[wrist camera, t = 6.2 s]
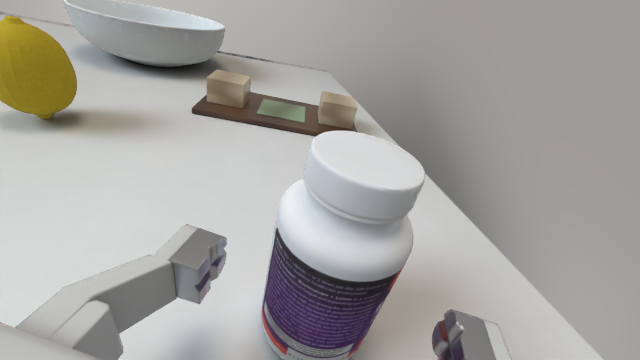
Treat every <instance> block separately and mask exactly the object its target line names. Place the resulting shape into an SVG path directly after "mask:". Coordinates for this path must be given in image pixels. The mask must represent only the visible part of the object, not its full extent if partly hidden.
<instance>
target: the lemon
mask: <svg viewBox="0 0 640 360" xmlns="http://www.w3.org/2000/svg"><path fill="white" fill-rule="evenodd" d="M76 91H77V80H76V75H75V71H74V68H73V66H72V64H71V62H70V60H69V58H68V56H67V54H66V52H65V51H64V49H63V48H62V47H61V45H60V44H59V43H58V42H57V41H56V40H55V39H54V38H53V37H51V36H50V35H49V34H47V33H46V32H44V31H42V30H40V29H39V28H37V27H34V26H32V25H29V24H27V23H24V22H23V21H22V20H21V19H20V18H18V17H13V16H6V17H5V18H4V19H3V21H0V101H2V102H3V103H5V104H7V105H8V106H10V107H12V108H14V109H16V110H19V111H22V112H25V113H31V114H34V115H36V116H38V117H40V118H42V119H49V118H51V117H52V116H53V115H54V114H55V112H58V111H61V110H63V109H65V108H66V107H68V106H69V105H70V104H71V102H72V101H73V99H74V97H75V95H76Z"/></svg>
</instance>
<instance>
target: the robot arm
mask: <svg viewBox="0 0 640 360" xmlns="http://www.w3.org/2000/svg"><path fill="white" fill-rule="evenodd" d="M226 245H227V238H226V237H223V236H220V235H218V234H215V233H212V232H209V231H206V230H203V229H200V228H197V227H194V226H191V225H188V224H187V225H184V226H183V227H181V228H180V229H179V230H178V231H177V232H176V233H175V234H174V235H173V236H172V237H171V238H170V239H169V240H168V241H167V242H166V243H165V244H164V245H163V246H162V248H161V249H160V250H159V251H158V252H157V253H156V254H155V255H154V256H153V255H147V256H144V257H142V258H139V259H136V260H134V261H131V262H128V263H126V264H123V265H121V266H118V267H115V268H113V269H110V270H107V271H105V272H102V273H100V274H97V275H94V276H92V277H89V278H87V279H84V280H81V281H79V282H76V283H73V284H71V285H68V286H66V287H64V288H62V289H61V290H60V291H59V292H58V293H56V294H55V295H54V296H53V297H52V298H50V299H49V300H48V301H47V302H46V303H44V304H43V305H42V306H41V307H39V308H38V309H37V310H36V311H35V312H33V313H32V314H31V315H30V316H29V317H27V318H26V319H25V320H24V321H22V322H21V323H20V324H19V325H18V326H16V327H12V326H9V325H6V324H4V323H1V322H0V360H118V359H119V357H120V356H121V355H122V353H123V345H122V342H121V339H120V336H119V333H121V332H123V331H124V330H126V329H128V328H129V327H131V326H132V325H134V324H136V323H137V322H139V321H141V320H142V319H144V318H145V317H147V316H149V315H150V314H152V313H154V312H155V311H157V310H158V309H160V308H162V307H163V306H165V305H167V304H168V303H170V302H172V301H173V300H175V299H176V297H178V298H181V299H185V300H188V301H191V302H194V303H197V304H200V303H201V301H202V300H203V298H204V297H205V295H206V294H207V292H208V291H209V289H210V281H212V280H214V279H216V278H217V277H218V276H219V274H220V273H221V271H222V269H223V266H224V264H225V260H226V252H225V250H224V248H225V246H226ZM444 317H445V320H443V321H440V322H438V323H437V325H436V326H435V327H434V331H433V335H432V345H433V350H434V352H435V353H436V355H437V357H438V360H511V357H510V354H509V351H508V349H507V346H506V343H505V340H504V338H503V335H502V332H501V330H500V327H499V326H498V325H497V324H496V323H493V322H490V321H487V320H484V319H480V318H478V317H475V316H472V315H468V314H465V313H462V312H459V311H455V310H452V309H450V310H448V311H447V312H446V313H445V314H444Z"/></svg>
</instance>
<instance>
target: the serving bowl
mask: <svg viewBox="0 0 640 360" xmlns="http://www.w3.org/2000/svg"><path fill="white" fill-rule="evenodd" d="M63 2H64V5H65V8H66V10H67V13H68V15H69V17H70V19H71V21H72V22H73V24H74V26H75V27H76V29H77V30H78V31H79V32H80V34H81V35H82V36H83V37H85V38H86V39H87V40H88V41H89V42H90V43H92V44H93V45H95V46H96V47H98V48H100V49H101V50H103V51H106V52H108V53H110V54H113V55H116V56H119V57H122V58H125V59H128V60H130V61H133V62H136V63H140V64H145V65H150V66H158V67H180V66H184V65H189V64H195V63H200V62H203V61H206V60H208V59H210V58H211V57H213V56H214V55H215V54H216V53H217V51H218V50H219V48H220V47H221V44H222V41H223V38H224V32H225V27H224V26H223V25H222V24H220V23H218V22H215V21H212V20H209V19H206V18H203V17H199V16H195V15H191V14H187V13H183V12H178V11H173V10H168V9H163V8H158V7H152V6H147V5H140V4H135V3H128V2H122V1H114V0H63Z"/></svg>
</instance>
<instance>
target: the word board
mask: <svg viewBox="0 0 640 360" xmlns="http://www.w3.org/2000/svg"><path fill="white" fill-rule="evenodd" d="M250 84H251V76H247V75H242V74H238V73H233V72H228V71H223V70H218V69H217V70H216V71H214V72H213V73H212V74H210V75H209V76H208V77H207V95H206V96H205V97H204V98H202V99H201V100H200V101H199V102H198V103H197V104H196V105H195V106H194V107H193V108H192V113H195V114H200V115H206V116H211V117H217V118H222V119H227V120H233V121H238V122H243V123H249V124H254V125H260V126H265V127H270V128H276V129H281V130H287V131H292V132H297V133H303V134H308V135H313V136H318V135H319V134H322V133H324V132H328V131H353V132H357V131H356V128H355V125H354V122H353V121H354V117H355V114H356V110H357V106H356V104H355V102H354V99H353V97H348V96H343V95H338V94H334V93H329V92H324V91H322V94H321V98H320V103H319V106H316V105H311V104H306V103H302V102H297V101H292V100H287V99H282V98H277V97H272V96H267V95H262V94H257V93H252V92H250Z"/></svg>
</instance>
